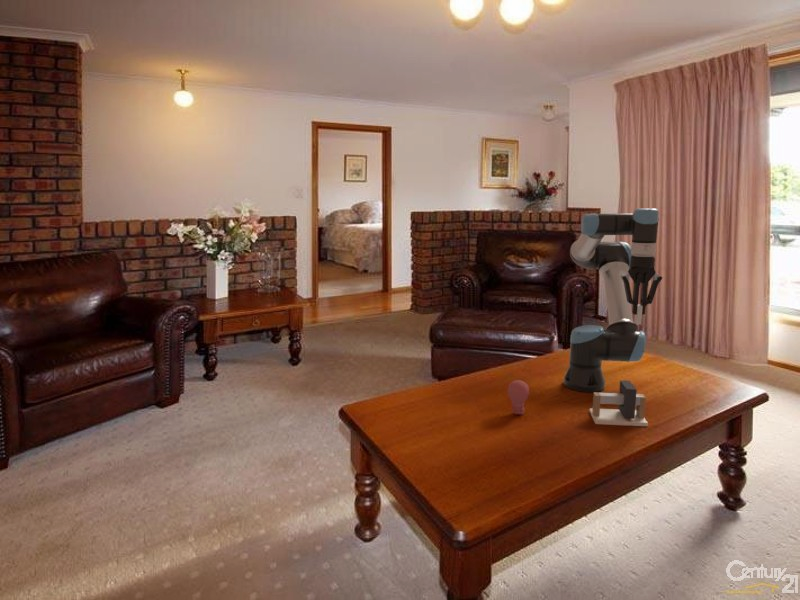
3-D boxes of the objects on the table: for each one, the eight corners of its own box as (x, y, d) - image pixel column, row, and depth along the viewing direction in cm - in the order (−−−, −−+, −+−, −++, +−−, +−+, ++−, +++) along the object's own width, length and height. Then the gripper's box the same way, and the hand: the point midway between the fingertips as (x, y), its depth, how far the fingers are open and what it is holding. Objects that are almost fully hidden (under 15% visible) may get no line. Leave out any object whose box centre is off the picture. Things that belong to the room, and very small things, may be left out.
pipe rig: (595, 424, 171) (597, 398, 170) (589, 411, 181) (590, 387, 179) (647, 426, 169) (649, 400, 167) (638, 413, 179) (640, 389, 177)
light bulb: (504, 410, 183) (505, 377, 181) (524, 409, 184) (525, 376, 181) (510, 418, 176) (511, 385, 174) (531, 417, 177) (532, 384, 174)
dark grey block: (624, 418, 171) (626, 389, 169) (618, 408, 178) (620, 380, 176) (634, 418, 170) (636, 389, 168) (627, 408, 178) (629, 380, 176)
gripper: (625, 256, 173) (620, 326, 178) (667, 256, 172) (661, 326, 176) (619, 253, 181) (615, 320, 185) (659, 253, 179) (654, 321, 184)
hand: (637, 323), depth 181 cm, fingers closed
